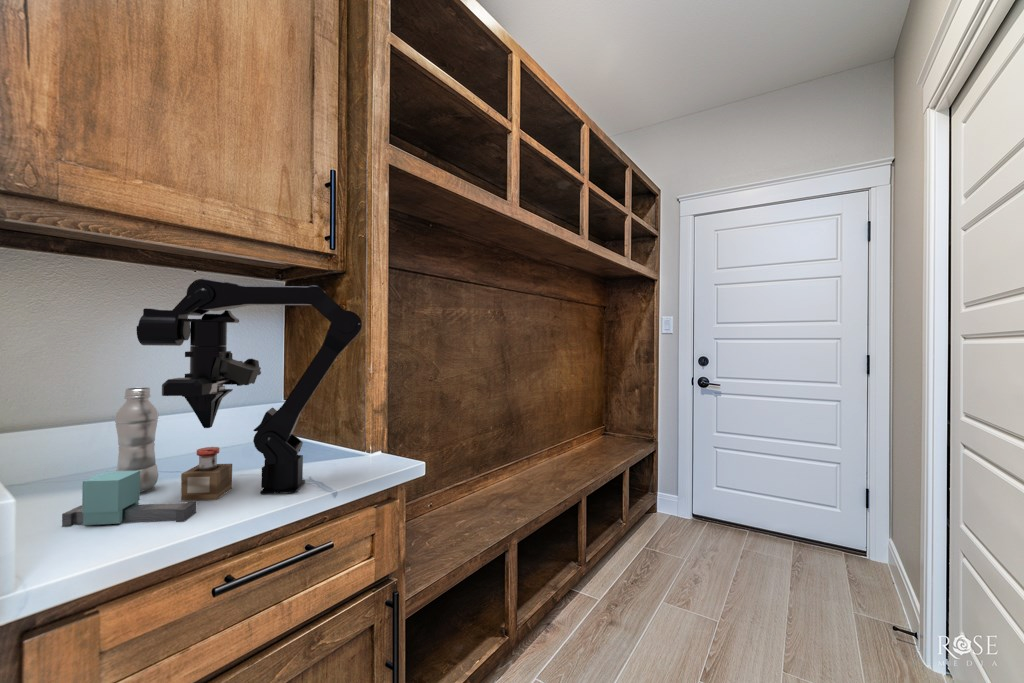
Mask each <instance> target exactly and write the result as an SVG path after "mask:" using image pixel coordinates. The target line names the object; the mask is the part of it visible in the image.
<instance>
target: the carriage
mask: <svg viewBox="0 0 1024 683" xmlns="http://www.w3.org/2000/svg"><path fill="white" fill-rule="evenodd" d="M81 490H82V492H81V494H82V496H81V497H82V499H81V500H82V502H81V505H82V513H83V524H82V526H90V525H91V526H92V525H93V526H95V525H96V526H97V525H112V524H113V525H116V524H118V525H119V524H120V523H121V522H122V509H124V508H126V507H128V506H130V505H140V502H139V501H140V496H141V495H140V493H141V492H140V471H116V470H115V471H105V472H103V473H100V474H97V475H95V476H92V477H90V478H88V479H85V480H83V481H82V488H81ZM121 524H122V523H121Z"/></svg>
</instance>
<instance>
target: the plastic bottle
mask: <svg viewBox="0 0 1024 683" xmlns="http://www.w3.org/2000/svg"><path fill="white" fill-rule="evenodd" d="M123 398H124V399H125V402H124V404H123V405H122V406H120V408H119V409H118V410H117V412H116V413H115V417H114V422H115V429H116V434H117V442H118V443H117V445H118V455H117V466H116V470H115V471H140V493H141V492H144V491H148V490H151V489H152V488H154V487H155V485H156V484H157V483H158V479H159V470H158V469H159V468H158V465H157V462H156V452H155V450H156V449H155V446H156V443H155V441H156V432H157V427H158V419H159V412H158V410H157V408H156V407H155V405H154V404H153V403H152V402H151V401H150V399H149V398H151V387H146V386H145V387H143V386H142V387H130V388H129V387H128V388H126V389H125V392H124V397H123Z"/></svg>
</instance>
